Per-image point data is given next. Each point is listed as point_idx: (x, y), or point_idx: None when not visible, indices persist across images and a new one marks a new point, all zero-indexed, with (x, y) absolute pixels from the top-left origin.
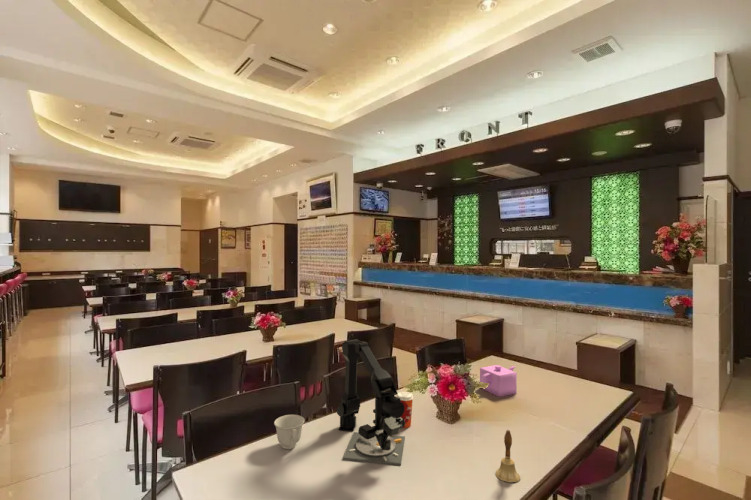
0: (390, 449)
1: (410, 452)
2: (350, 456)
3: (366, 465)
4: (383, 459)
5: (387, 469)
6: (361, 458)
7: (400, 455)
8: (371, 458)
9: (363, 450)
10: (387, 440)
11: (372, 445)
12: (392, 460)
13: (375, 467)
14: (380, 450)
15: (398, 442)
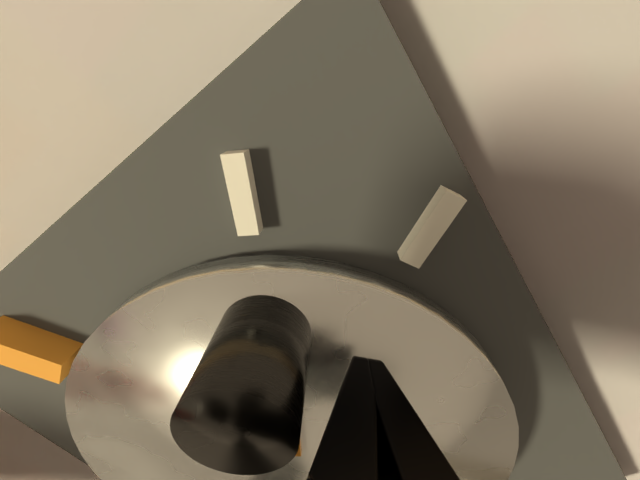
0: (249, 293)
1: (10, 110)
2: (586, 469)
3: (611, 306)
4: (441, 237)
5: (572, 59)
6: (565, 401)
7: (196, 131)
8: (510, 340)
9: (491, 464)
10: (222, 441)
11: None
12: (382, 131)
13: (604, 215)
14: None
15: (41, 330)
